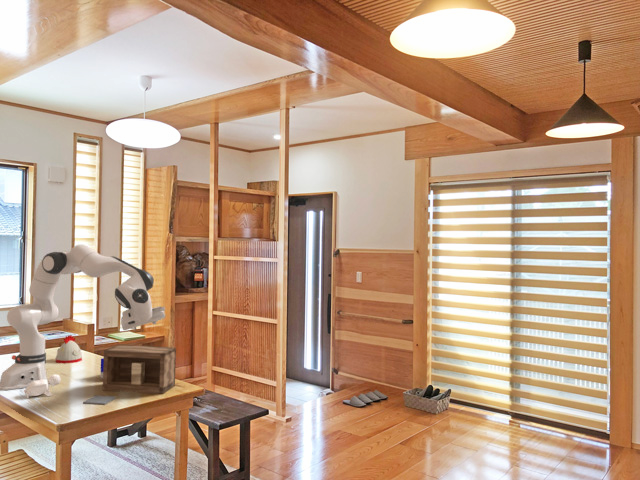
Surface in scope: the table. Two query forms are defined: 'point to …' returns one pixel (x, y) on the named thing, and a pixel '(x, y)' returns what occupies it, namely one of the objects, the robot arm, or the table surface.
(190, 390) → the table surface
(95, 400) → the slate mat
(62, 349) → the kitchen timer
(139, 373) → the beech block
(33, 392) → the white animal figurine
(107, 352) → the brown wooden box
